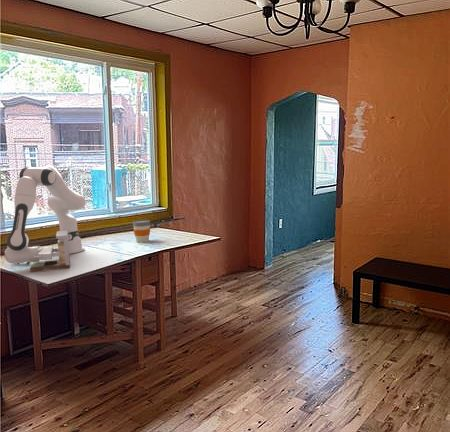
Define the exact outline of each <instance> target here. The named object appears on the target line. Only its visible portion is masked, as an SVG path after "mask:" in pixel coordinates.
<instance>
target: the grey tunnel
mask: <svg viewBox="0 0 450 432" xmlns="http://www.w3.org/2000/svg"><path fill="white" fill-rule="evenodd" d="M55 239H58V240H59V242H63V241H64V250H65V263H66V265H69V259H70V260H71V258H70V257H71V256H70V254H69V243H68V231H67V230H66V231H60V230H57V231H56V234H55Z"/></svg>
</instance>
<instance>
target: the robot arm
mask: <svg viewBox="0 0 450 432" xmlns="http://www.w3.org/2000/svg"><path fill="white" fill-rule="evenodd" d="M18 176H19V177H18V178H19V179H18V181H17V183H16V186H15V187H16V188H15V191H14V192H15V193H14V201H13V202H14V216H13V217H14V218H13V224H12V229H11V232H10V234H9V235H8V237H7V239H6V244H7V247H6V249H5V250H4V259H5V260H6V261H7V263H8V264H17V263H19V264H24V263H27V262H30V263H33V262H37V261H48V260H53V257H57V256H58V257H59V255H61V252H59V250H58V247H57V248H55V247H54V246H53V245H42V246H40V245H35V246H29V240H30V239H29V236H28V234H27V233H25V230H26V225H27V219H28V216H29V214H30V213H31V211H32V210H33V208H34V205H35V202H36V196H37V187H39V186H40V187H41V186H42V187H44V186H45V188H46V189H47V190H48V191H49V193H50V194H51V195H49V197H48V199H47V206H48V207H49V209H50V210H52V211H53V212H54V213H55V215H56V217H57V219H58V220H57V221H58V224H59V231H66V230H67V231H68V243H69V255H70V254H75V253H76V254H77V253H81V252H83V251H86V249H85V247H84V246H83V244H82V238H81V237H80V235H79V230H78V221H77V218H76V217H75V216H73V215H72V214H71V212H72V211H74V212H75V211H80V210H83V209H84V208H85V206H86V203H87V202H86V198H85V196H83V195H82V194H80V193H77V192H76V191H74V190H73V189H71V187H69V185H68V184H67V182H65V181H64V179H63V177H62V175H61V174H60V172H59V171H58V170H57V169H56V168H55V167H54V166H52V165H45V166H44V167H40V166H39V167H37V166H36V167H35V166H33V167H32V166H26V167H25V166H24V167H23V168H22V169H21V170H20V172H19V175H18ZM70 211H71V212H70ZM58 242H59V239H58V240H57V243H58Z"/></svg>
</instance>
